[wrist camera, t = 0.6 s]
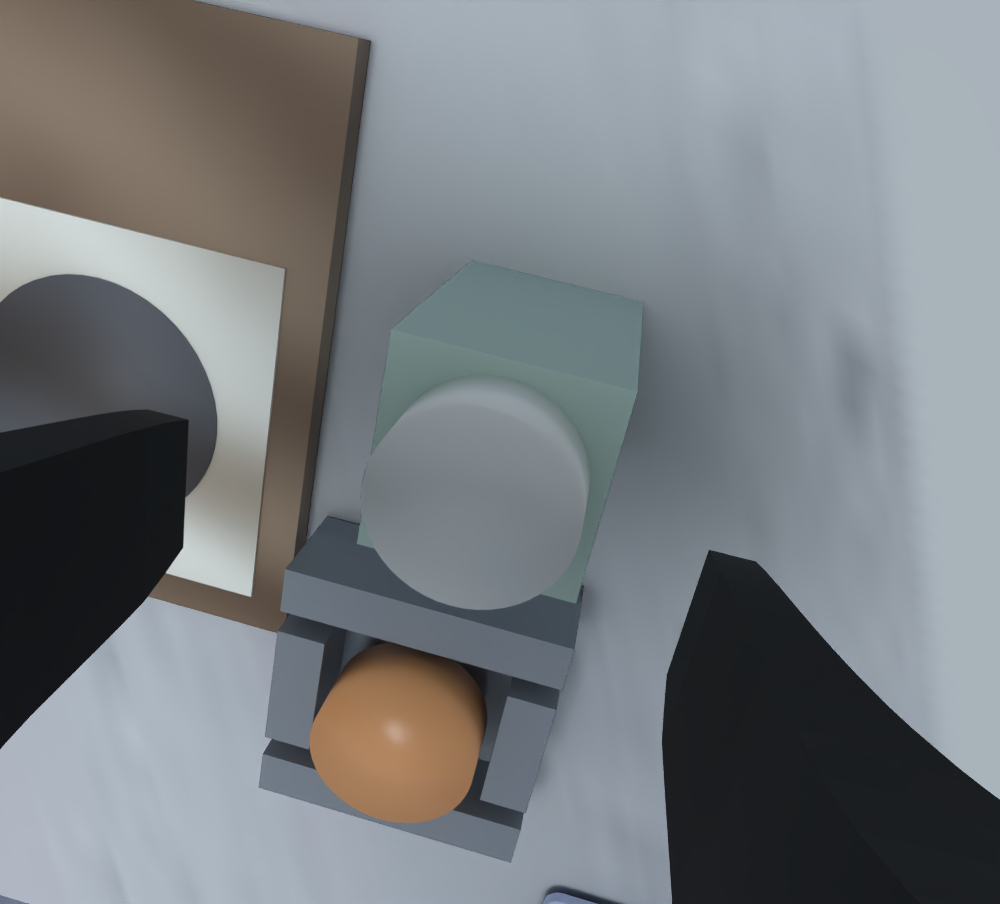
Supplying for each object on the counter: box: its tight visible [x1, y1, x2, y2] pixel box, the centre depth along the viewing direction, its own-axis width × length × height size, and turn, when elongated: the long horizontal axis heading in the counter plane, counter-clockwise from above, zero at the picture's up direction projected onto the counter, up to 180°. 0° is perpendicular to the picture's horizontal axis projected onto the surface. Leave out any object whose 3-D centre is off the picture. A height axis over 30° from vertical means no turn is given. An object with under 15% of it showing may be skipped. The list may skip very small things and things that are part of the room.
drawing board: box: [0, 0, 371, 633], centre depth 21 cm, size 15×11×1 cm
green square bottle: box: [357, 260, 643, 610], centre depth 16 cm, size 4×4×8 cm
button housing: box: [259, 517, 584, 863], centre depth 22 cm, size 7×7×3 cm
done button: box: [309, 642, 487, 823], centre depth 21 cm, size 4×4×2 cm
